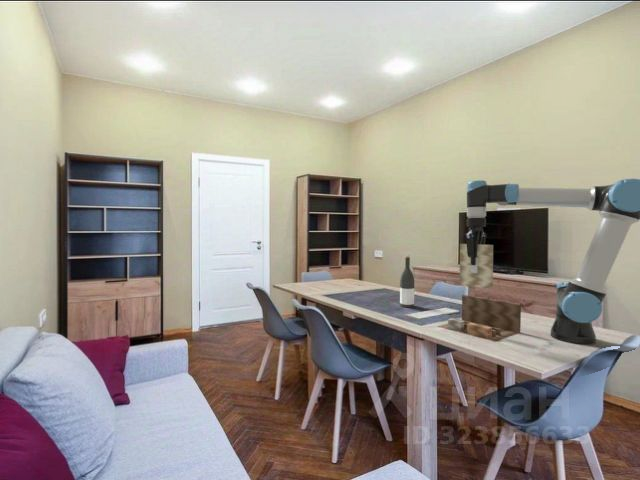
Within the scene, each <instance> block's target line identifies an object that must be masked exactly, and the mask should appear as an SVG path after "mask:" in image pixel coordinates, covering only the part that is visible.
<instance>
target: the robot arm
mask: <svg viewBox="0 0 640 480" xmlns="http://www.w3.org/2000/svg"><path fill="white" fill-rule="evenodd" d="M487 204H498V206H499V205H500V206H531V207H532V206H534V207H536V206H537V207H539V206H540V207H560V208H562V207H563V208H584V209H585V208H586V209H588V211H598V214H599V215H600V217H601V218H600V221H599V223H598V225H597V228H596V230H595V232H594V234H593V237H592V238H591V239H592V240H591V242H590V244H589V246H588V249H587V251H586V253H585V255H584V258H583V260H582V263H581V265H580V267H579V270H578V272H577V275H576V276H575V278H572V279H570V280H569V281H568V282H563V281H562V282H558V283H556V289H555V290H556V297H555V298H556V300H555V302H556V303H555V307H556V308H555V319H554V321H553V324H552V326H551V329H550V336H551V337H552V338H554V339H557V340H559V341H562V342H569V343H573V344H582V345H583V344H584V345H590V344H596V342H597V336H596V333H595V330H594V327H593V325H592V323H593V322H594V321H596V320H597V319H599V318H600V317H601V315H602V313H603V302H604V299H605V298H606V297H605V296H606V295H607V291H606V289H605V284H606V283H607V280H608V278H609V276H610V273H611V272H612V269H613V266H614V264H615V262H616V259H617V258H618V255H619V252H620V250H621V248H622V246H623V245H624V243H625V240H626V237H627V235H628V233H629V231H630V229H631V226H632V225H633V224H635V223H638V222H640V179H639V178H623V179H621V180H618V181H616V182H615V183H613V184H607V185H602V186H601V185H600V186H599V185H598V186H597V185H596V186H595V185H594V186H591V187H590V188H554V187H551V188H550V187H548V188H547V187H546V188H545V187H544V188H543V187H541V188H540V187H534V188H533V187H520V186H519V183H504V184H502V183H501V184H487V180H479V179H478V180H472V181H469V182H468V183H467V188H466V217H467V218H466V227H468V228H469V229H468V232H467V233H464V237H465V239H466V241H465V242H466V244H467V255H468V257H471V273H478V258H476V257H477V244H479V245H486V238H487V236H488V234H487V233H486V232H485V231H484V227H486V225H487V218H486V217H487Z"/></svg>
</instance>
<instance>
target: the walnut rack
mask: <svg viewBox="0 0 640 480" xmlns="http://www.w3.org/2000/svg"><path fill="white" fill-rule="evenodd" d="M521 312H522V304H521V303H518V302H517V303H515V302H510V301H503V300H498V299H493V298H492V299H491V298H486V297H479V296H473V295H466V294H462V295H461V318H460V319H458V318H457V319H458V320H462V321H464V331H457V330H453V329H449V328H448V323H445V324H442V325H437V328H442V329H445V330H449V331H453V332H456V333H460V334H464V335H467V336H472V337H476V338H479V339H482V340H486V341H491V342H494V343H496V342H499V341H501V340H504V339H507V338H510V337H513V336H515V335H518V334H520V333H521V326H522V325H521V317H522V316H521V315H522V313H521ZM468 323H475V324H479V325H483V326H488V327H492V338H489V339H487V338H483V337H480V336H476V335H472V334H468V333H467V324H468Z"/></svg>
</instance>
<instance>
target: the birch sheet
mask: <svg viewBox="0 0 640 480" xmlns="http://www.w3.org/2000/svg"><path fill="white" fill-rule="evenodd" d="M476 258H478V273H471V257H468V255H467V243H460V244H459V285H462V286H467V287H473V288H474V287H475V288H481V289H482V288H483V289H494V244H485V245H479V244H477V257H476Z"/></svg>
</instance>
